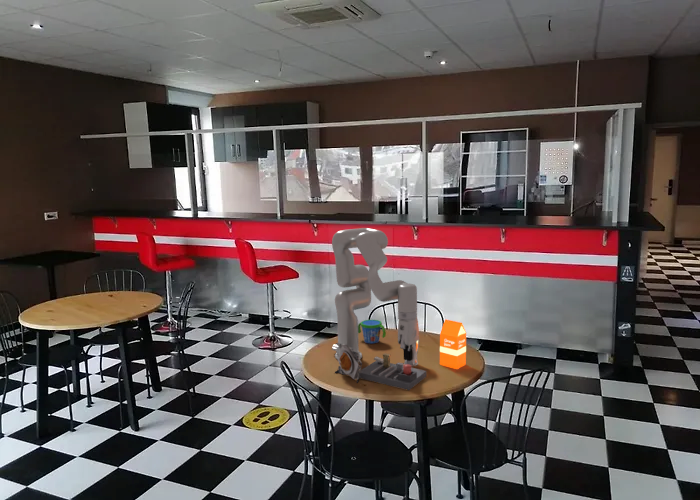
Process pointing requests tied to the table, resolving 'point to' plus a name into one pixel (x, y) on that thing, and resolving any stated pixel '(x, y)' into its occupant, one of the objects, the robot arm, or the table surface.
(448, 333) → the orange juice
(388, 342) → the table surface
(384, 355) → the brass slider
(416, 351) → the beer glass
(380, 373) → the panel
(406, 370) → the button
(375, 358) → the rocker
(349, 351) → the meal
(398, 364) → the steel slider
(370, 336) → the snack cup
